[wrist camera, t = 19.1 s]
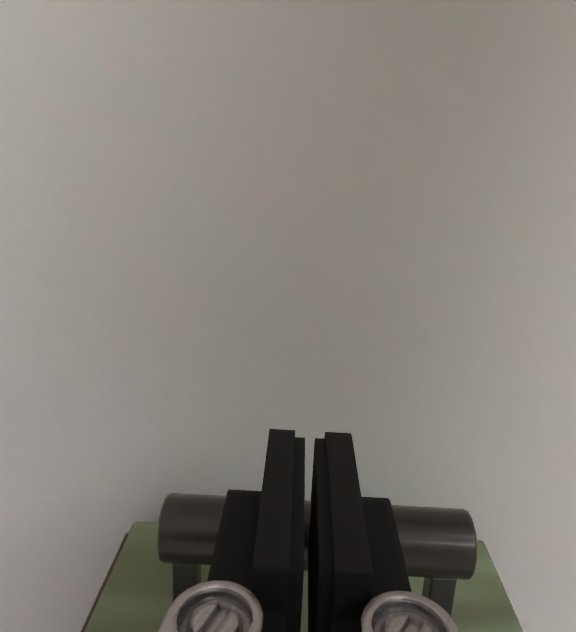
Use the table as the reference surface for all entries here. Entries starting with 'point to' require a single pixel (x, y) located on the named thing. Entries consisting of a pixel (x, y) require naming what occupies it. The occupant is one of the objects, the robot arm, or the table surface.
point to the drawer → (200, 538)
